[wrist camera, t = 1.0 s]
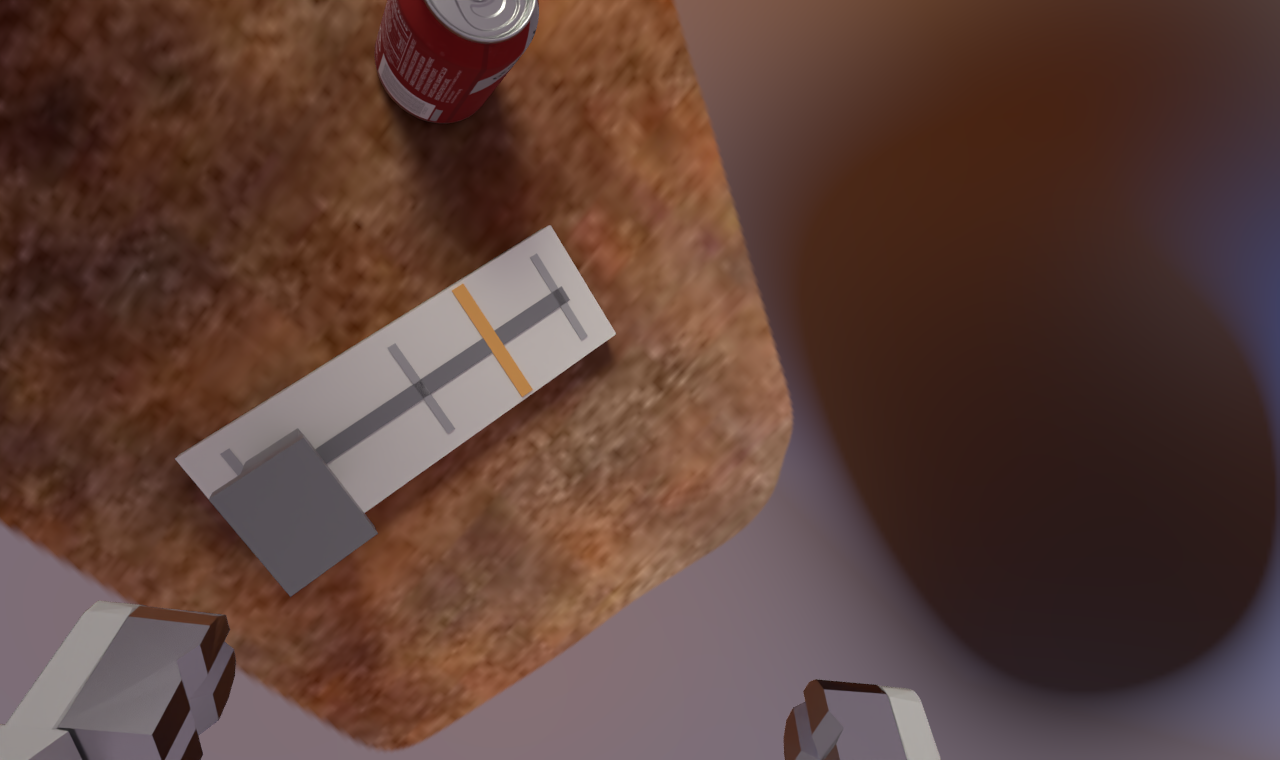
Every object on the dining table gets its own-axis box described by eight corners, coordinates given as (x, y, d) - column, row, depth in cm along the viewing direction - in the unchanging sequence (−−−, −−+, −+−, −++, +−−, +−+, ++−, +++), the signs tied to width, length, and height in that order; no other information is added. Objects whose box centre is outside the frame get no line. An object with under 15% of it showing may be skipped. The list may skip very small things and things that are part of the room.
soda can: (420, 147, 44) (462, 82, 33) (348, 41, 42) (367, -65, 31) (510, 94, 46) (577, 16, 35) (445, -9, 44) (495, -125, 33)
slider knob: (290, 534, 39) (290, 596, 30) (230, 459, 38) (208, 499, 28) (356, 488, 41) (377, 533, 31) (300, 414, 39) (303, 437, 29)
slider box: (275, 567, 41) (274, 577, 40) (180, 453, 39) (174, 459, 37) (604, 334, 49) (617, 333, 48) (540, 229, 47) (551, 224, 45)
